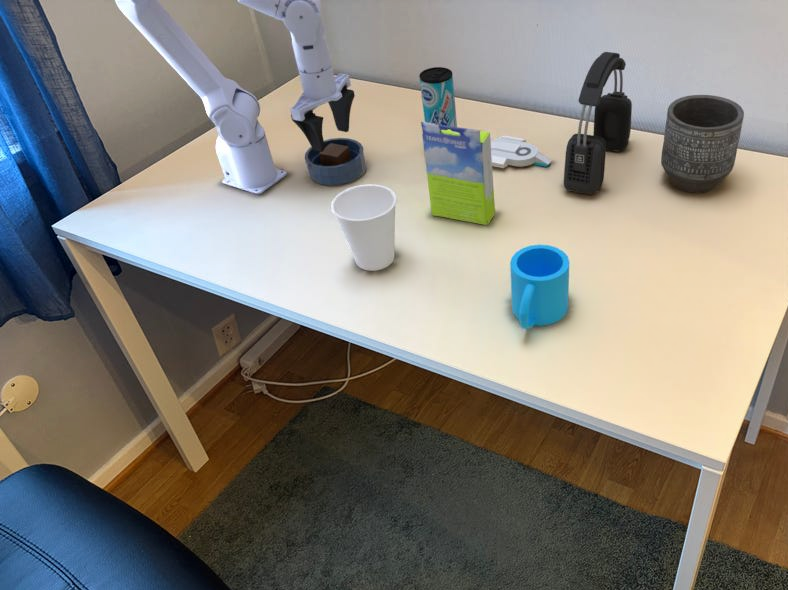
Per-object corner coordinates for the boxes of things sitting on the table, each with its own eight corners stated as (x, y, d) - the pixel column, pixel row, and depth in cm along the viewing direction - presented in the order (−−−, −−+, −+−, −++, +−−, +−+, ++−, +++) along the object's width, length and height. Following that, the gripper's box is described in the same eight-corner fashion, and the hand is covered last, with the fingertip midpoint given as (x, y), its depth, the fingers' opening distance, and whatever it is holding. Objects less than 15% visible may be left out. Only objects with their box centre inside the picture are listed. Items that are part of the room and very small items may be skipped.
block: (323, 172, 137) (318, 153, 134) (334, 162, 139) (330, 142, 136) (341, 176, 135) (337, 156, 132) (352, 165, 138) (348, 146, 135)
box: (496, 213, 125) (491, 118, 112) (487, 227, 122) (481, 131, 110) (440, 203, 128) (429, 110, 115) (430, 216, 125) (417, 122, 113)
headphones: (594, 202, 125) (601, 89, 111) (559, 195, 127) (562, 83, 113) (632, 140, 139) (642, 33, 125) (600, 135, 141) (606, 29, 127)
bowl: (297, 179, 137) (292, 159, 134) (334, 152, 143) (329, 133, 140) (342, 192, 132) (338, 173, 129) (378, 164, 139) (374, 145, 136)
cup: (396, 282, 113) (386, 222, 105) (336, 277, 115) (321, 218, 107) (413, 244, 120) (404, 185, 112) (356, 240, 122) (343, 182, 114)
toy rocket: (460, 162, 137) (459, 151, 136) (484, 138, 143) (483, 127, 141) (538, 179, 131) (538, 167, 130) (559, 153, 137) (560, 142, 136)
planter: (724, 204, 122) (738, 133, 113) (651, 193, 126) (660, 123, 117) (735, 167, 130) (749, 98, 121) (666, 158, 134) (675, 90, 125)
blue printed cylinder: (422, 152, 141) (412, 76, 130) (442, 139, 144) (435, 64, 133) (444, 161, 138) (436, 84, 127) (465, 148, 141) (459, 72, 130)
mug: (522, 284, 111) (520, 240, 105) (574, 294, 108) (576, 249, 103) (495, 336, 103) (492, 292, 97) (551, 348, 101) (551, 303, 95)
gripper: (307, 88, 118) (325, 163, 127) (358, 52, 126) (371, 126, 136) (273, 81, 120) (293, 155, 130) (325, 47, 129) (340, 119, 139)
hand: (331, 140), depth 133 cm, fingers open, 7 cm apart
